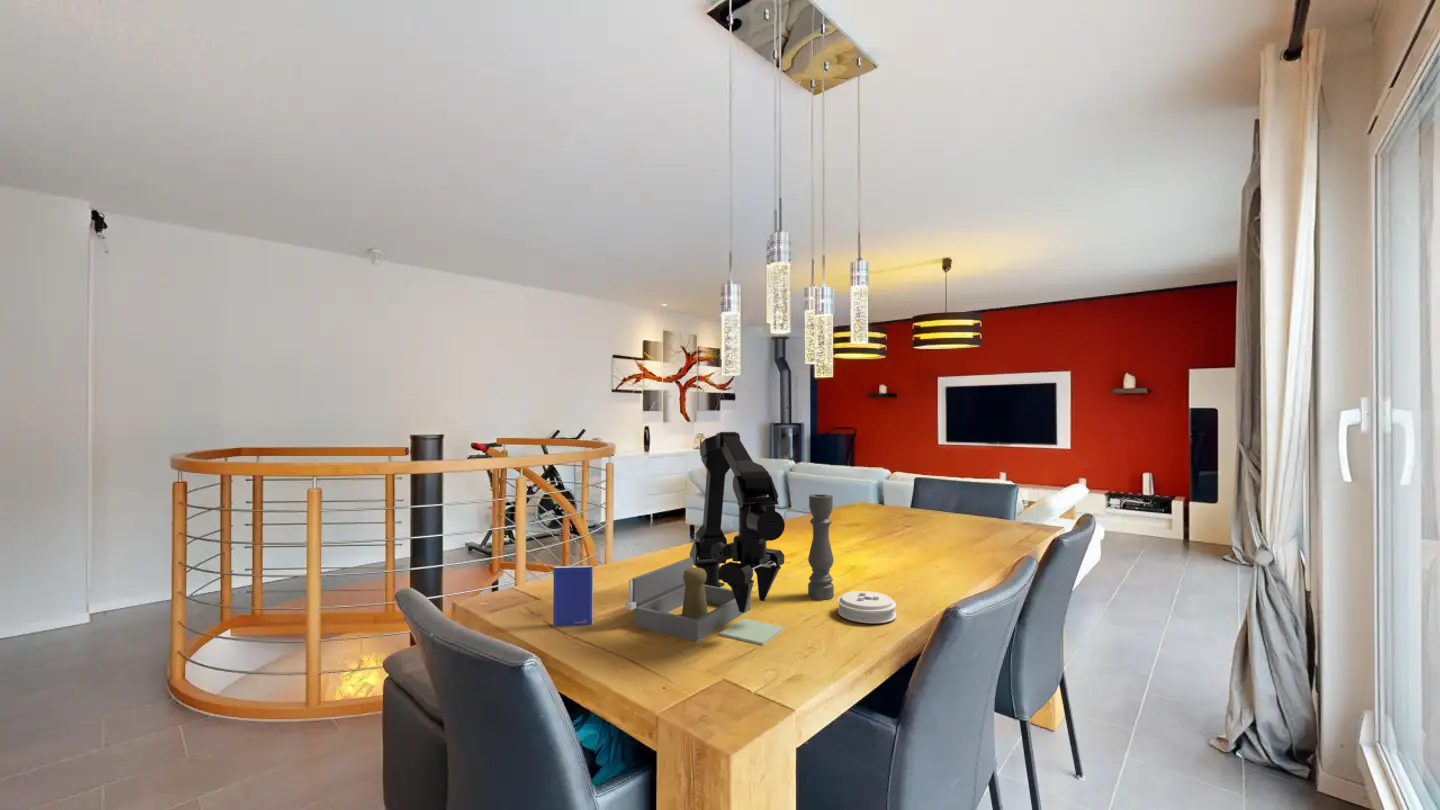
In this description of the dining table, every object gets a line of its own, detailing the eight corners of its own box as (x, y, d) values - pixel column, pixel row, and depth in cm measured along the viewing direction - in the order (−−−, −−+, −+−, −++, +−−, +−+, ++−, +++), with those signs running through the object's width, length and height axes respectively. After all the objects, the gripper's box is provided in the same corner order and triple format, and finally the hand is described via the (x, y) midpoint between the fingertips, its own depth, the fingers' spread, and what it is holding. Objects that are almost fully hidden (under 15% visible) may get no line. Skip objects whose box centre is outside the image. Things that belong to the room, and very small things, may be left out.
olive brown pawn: (688, 624, 129) (688, 573, 129) (676, 616, 135) (676, 566, 135) (713, 620, 132) (713, 569, 132) (701, 612, 138) (701, 563, 138)
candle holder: (837, 596, 149) (837, 495, 149) (827, 603, 144) (827, 498, 144) (814, 592, 152) (814, 493, 152) (803, 599, 147) (803, 496, 147)
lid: (906, 625, 130) (906, 602, 130) (851, 629, 127) (851, 605, 127) (879, 606, 142) (879, 585, 142) (829, 610, 140) (829, 588, 140)
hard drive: (592, 625, 129) (592, 567, 129) (552, 626, 128) (553, 568, 128) (592, 622, 131) (593, 565, 131) (554, 624, 130) (554, 566, 130)
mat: (743, 621, 132) (743, 618, 132) (784, 629, 126) (784, 627, 126) (719, 635, 123) (719, 632, 123) (762, 645, 118) (762, 642, 118)
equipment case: (688, 598, 148) (688, 557, 148) (750, 610, 139) (750, 566, 139) (625, 627, 128) (625, 580, 128) (693, 644, 119) (693, 593, 119)
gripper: (740, 519, 137) (740, 588, 137) (695, 534, 121) (694, 612, 121) (785, 524, 131) (785, 596, 131) (743, 540, 115) (743, 622, 115)
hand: (752, 606), depth 125 cm, fingers open, 8 cm apart
